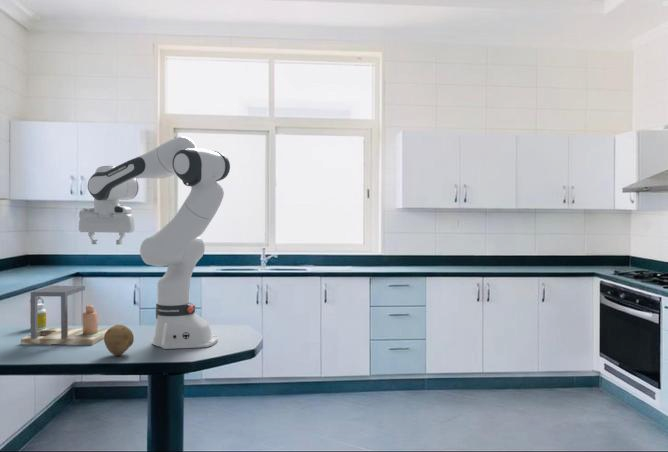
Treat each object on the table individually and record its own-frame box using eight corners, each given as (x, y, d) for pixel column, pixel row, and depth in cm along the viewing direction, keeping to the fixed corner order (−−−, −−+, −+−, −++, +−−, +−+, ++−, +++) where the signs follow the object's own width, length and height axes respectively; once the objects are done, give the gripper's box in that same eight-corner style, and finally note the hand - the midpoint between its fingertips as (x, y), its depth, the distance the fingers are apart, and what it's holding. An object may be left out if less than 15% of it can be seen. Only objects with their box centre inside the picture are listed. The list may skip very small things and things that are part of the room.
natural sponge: (116, 350, 174) (116, 321, 174) (139, 352, 172) (139, 322, 172) (98, 357, 166) (97, 326, 165) (121, 360, 163) (121, 328, 163)
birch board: (111, 333, 197) (111, 328, 197) (92, 344, 181) (92, 338, 181) (45, 333, 196) (45, 327, 196) (20, 344, 180) (20, 338, 180)
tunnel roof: (85, 329, 195) (85, 285, 195) (65, 339, 180) (65, 292, 180) (53, 328, 195) (53, 285, 195) (30, 338, 180) (30, 291, 180)
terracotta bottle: (100, 331, 191) (99, 304, 190) (93, 334, 186) (92, 307, 185) (87, 331, 191) (86, 304, 191) (79, 334, 186) (79, 307, 186)
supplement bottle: (39, 330, 201) (38, 305, 201) (27, 329, 202) (27, 305, 202) (49, 327, 206) (49, 303, 206) (37, 326, 207) (37, 302, 207)
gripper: (75, 208, 195) (75, 244, 195) (129, 208, 195) (129, 245, 196) (83, 208, 201) (83, 243, 202) (135, 208, 202) (135, 244, 202)
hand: (106, 244), depth 199 cm, fingers open, 8 cm apart
